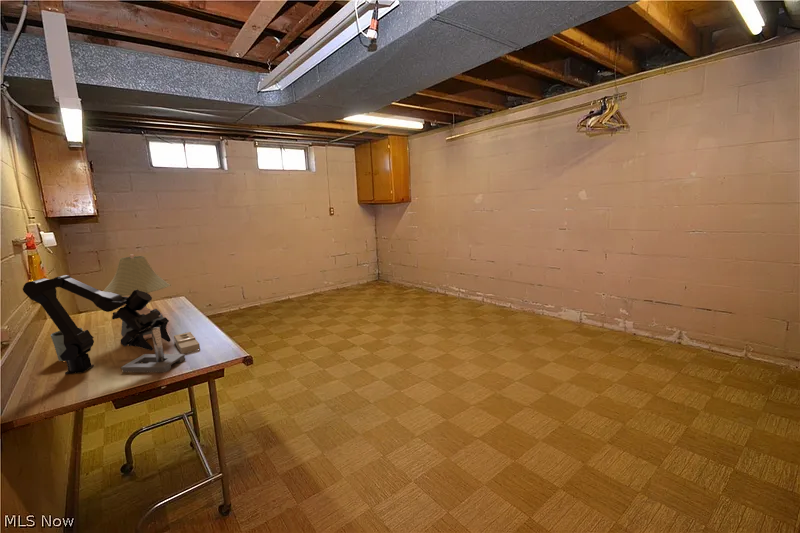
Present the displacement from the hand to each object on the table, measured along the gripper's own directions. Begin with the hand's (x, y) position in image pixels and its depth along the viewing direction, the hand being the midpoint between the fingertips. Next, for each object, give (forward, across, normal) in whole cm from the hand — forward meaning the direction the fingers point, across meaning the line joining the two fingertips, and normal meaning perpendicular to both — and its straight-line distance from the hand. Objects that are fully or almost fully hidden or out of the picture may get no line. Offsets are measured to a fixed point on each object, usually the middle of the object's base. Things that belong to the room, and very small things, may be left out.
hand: (161, 345), depth 143 cm
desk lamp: (-20, +31, +33) cm, 49 cm away
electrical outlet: (+3, +20, +11) cm, 23 cm away
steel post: (+5, 0, +7) cm, 9 cm away
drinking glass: (-28, +4, +41) cm, 50 cm away
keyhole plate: (+3, 0, +9) cm, 10 cm away
